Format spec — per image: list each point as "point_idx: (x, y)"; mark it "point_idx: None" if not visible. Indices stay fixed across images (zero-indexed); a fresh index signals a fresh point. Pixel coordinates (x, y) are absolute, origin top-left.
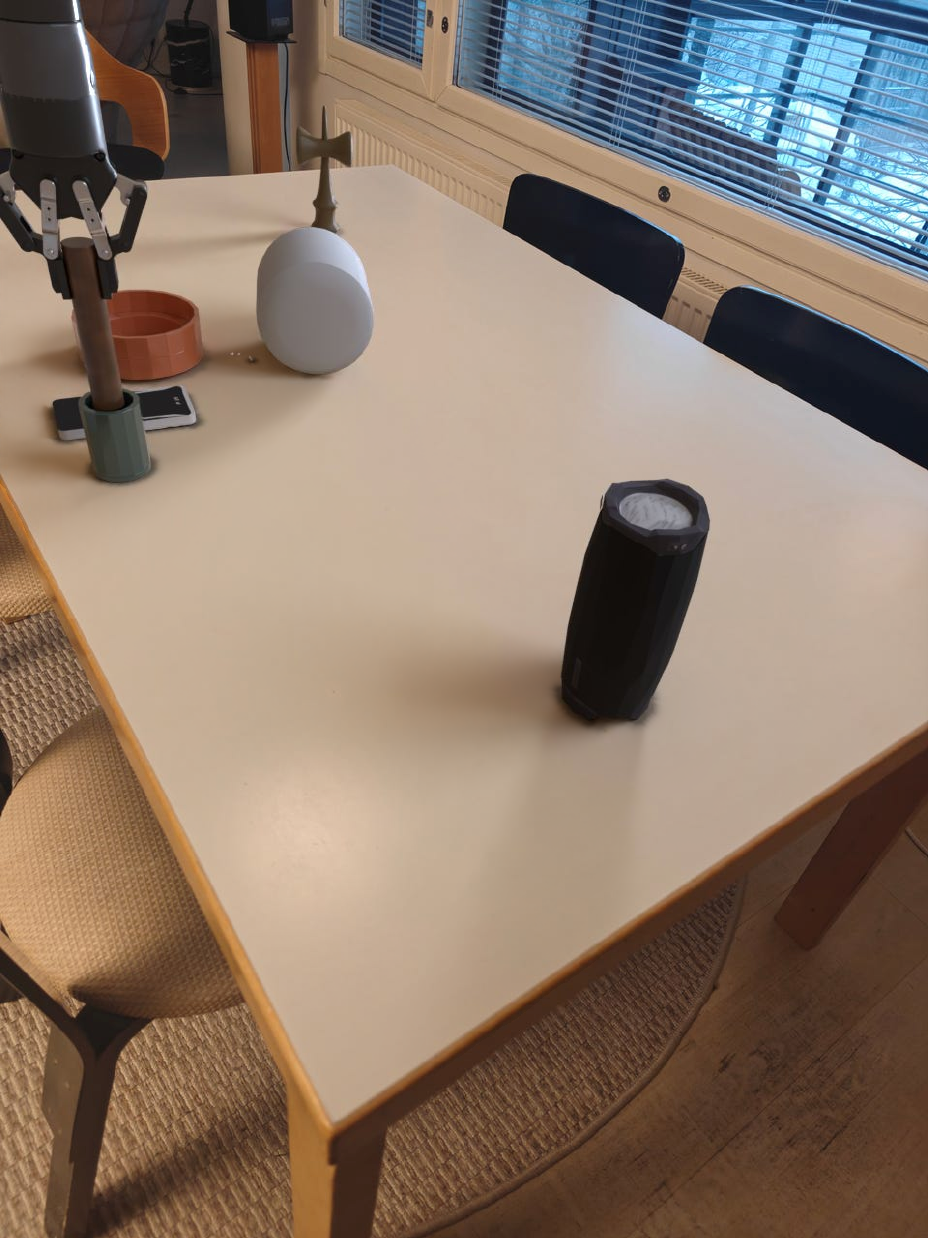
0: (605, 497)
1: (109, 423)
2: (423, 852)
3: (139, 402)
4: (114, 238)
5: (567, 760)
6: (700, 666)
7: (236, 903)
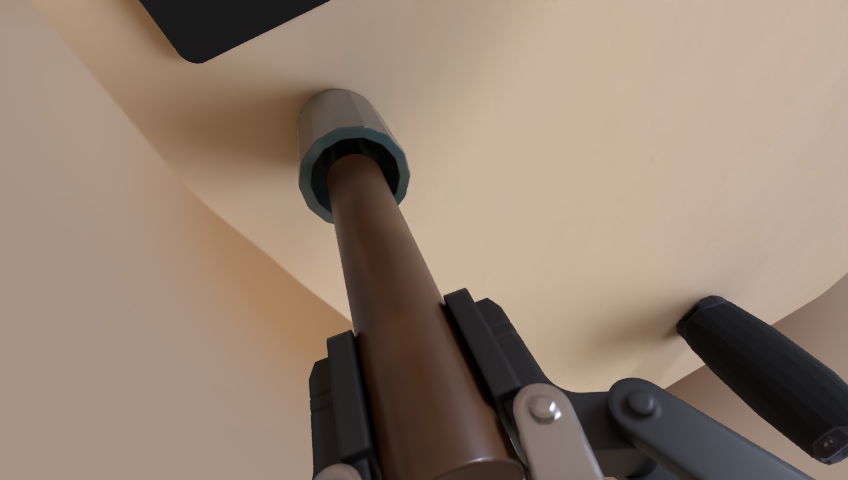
0: (834, 452)
1: None
2: None
3: (408, 167)
4: (606, 467)
5: (657, 354)
6: (761, 283)
7: None
